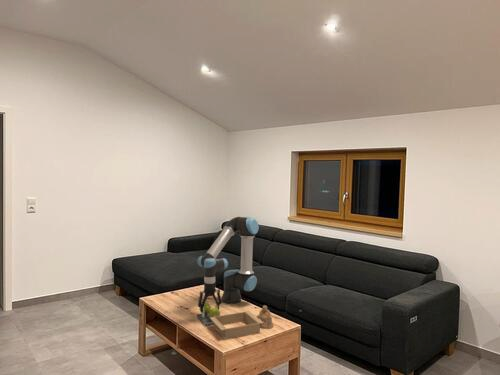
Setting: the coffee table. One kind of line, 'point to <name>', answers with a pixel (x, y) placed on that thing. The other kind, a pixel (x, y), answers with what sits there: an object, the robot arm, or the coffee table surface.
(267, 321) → the statue
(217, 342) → the coffee table surface
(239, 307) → the coffee table surface
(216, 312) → the dumbbell
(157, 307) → the coffee table surface
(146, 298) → the coffee table surface
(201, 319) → the mat
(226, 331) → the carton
